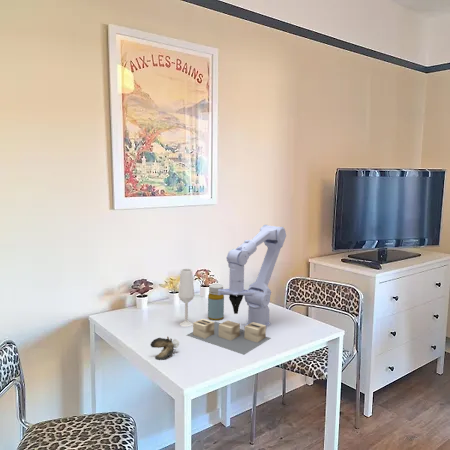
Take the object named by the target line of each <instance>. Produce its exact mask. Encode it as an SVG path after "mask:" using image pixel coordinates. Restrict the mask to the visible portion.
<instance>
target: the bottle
mask: <svg viewBox="0 0 450 450" xmlns="http://www.w3.org/2000/svg"><path fill="white" fill-rule="evenodd" d="M219 289H224V285H222V284H219V283H213V284H209V286H208V295H207V318H208V320H209V321H222V320H223V319H224V318H225V316H224V312H225V311H224V310H225V309H224V308H225V295H218V290H219Z"/></svg>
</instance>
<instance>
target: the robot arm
mask: <svg viewBox="0 0 450 450" xmlns="http://www.w3.org/2000/svg"><path fill="white" fill-rule="evenodd" d="M286 233H287V232H286V229H285V228H284V226H277V225H268V224H264V225H262V226H261V227H260V228H259V232H258V233H257V234H256V235H255V236H253V237H252V239H245V240H244V242H243V243H241V244H240V245H239V246H237V248H235V249H234V248H233V249H230V250H229V251H228V253H227V256H226V261H227V263H228V264H227V265H228V268H229V285H228V286H229V287H228V288H223V289H219V290H218V295H224V296H228V299H229V301H230V303H231V305H232V308H233V309H232V310H233V314H234V315H237V314H238V313H239V308H240V304H241V303H242V301H243V298H244V300H245V303H246V305H247V306H248V317H247V322H246V323H245V324H244V325H243V326H244V327H245V326H246V325H248V324H250V323H252V322H255V323H259V324H262V325H266V327H268V326H269V325H272V323H271V322H270V307H269V304H270V302H271V295H272V291H271V289H270V287H269V283H270V280H271V277H272V275H273V271H274V268H275V267H276V263H277V260H278V257H279V254H280V251H281V249H282V248H283V246H284V244H285V240H286V238H287V234H286ZM263 243H264V245H265V246H266V247H267V250H266V252H265V255H264V258H263V261H262V263H261V267H260V269H259V272H258V275H257V277H256V281H254V282H253V283H251V284H249V287H248V288H247V289H245V265H246V264H247V262H248V260H249V258H250V257H251V256H252V255H253V254H254V253H255V252H256V251H257V247H259V246H260V245H261V244H263Z"/></svg>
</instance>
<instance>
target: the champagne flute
mask: <svg viewBox="0 0 450 450" xmlns="http://www.w3.org/2000/svg"><path fill="white" fill-rule="evenodd" d="M179 274H180V276H179V285H178V286H179V288H178V299H180V301H181V302H182V303H184V320H183V321H181V322H180V323H179V326H180V327H184V328H185V327H191V326H193V323H194V322H191V321H189V320H188V318H189V315H188V313H189V306H188V305H189V303H190V302H192V300H194V297H195V286H194V277H193V274H194V273H193V269H191V268H182V269H180V273H179Z"/></svg>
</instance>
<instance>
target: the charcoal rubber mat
mask: <svg viewBox="0 0 450 450" xmlns="http://www.w3.org/2000/svg"><path fill="white" fill-rule="evenodd" d="M213 322H214V334H213V335H211V336H209V337H207V338H205V339H204V338H201V337H198V336H195V335H193V331H192V332H189V333H187V334H186V337H190V338H192V339H197V340H199V341H202V342H205V343H208V344H211V345H214V346H217V347H219V348H223V349H226V350H229V351H231V352H235V353H238V354H241V355H246V354H248V353H250V352H251V351H253V350H254V349H256V348H257V347H259V346H261V345H262V344H264V343H266V342H267V341H269V340H270V339H272V338H271V337H269V336H266V338H264V339H262V340H261V341H259V342H254V341H251V340H248V339H244V337H245V329H241V328H240V336H238V337H236V338H235V339H233V340H227V339H224V338H221V337H219V324H221V323H222V322H217V321H213Z"/></svg>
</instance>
